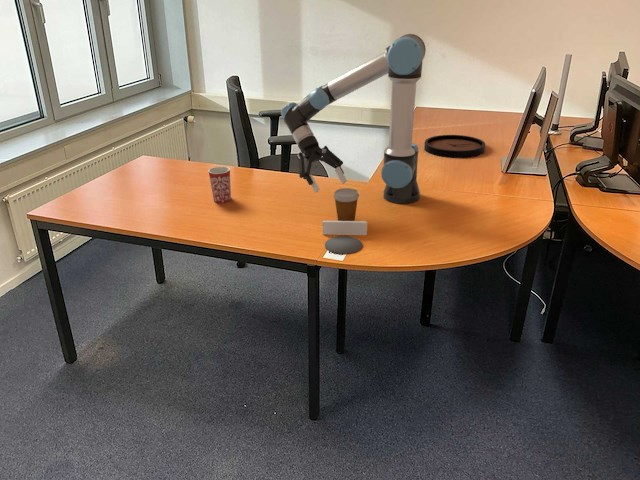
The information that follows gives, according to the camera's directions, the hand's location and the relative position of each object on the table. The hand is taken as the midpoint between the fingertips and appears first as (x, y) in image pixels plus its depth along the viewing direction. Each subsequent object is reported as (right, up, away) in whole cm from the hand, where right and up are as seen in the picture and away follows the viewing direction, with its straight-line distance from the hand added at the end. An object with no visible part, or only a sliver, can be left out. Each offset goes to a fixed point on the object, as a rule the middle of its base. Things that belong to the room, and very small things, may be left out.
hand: (331, 186), depth 201 cm
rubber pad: (+4, -22, -17) cm, 28 cm away
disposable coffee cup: (+6, -13, +1) cm, 15 cm away
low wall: (+5, -18, -9) cm, 21 cm away
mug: (-46, -3, +25) cm, 53 cm away
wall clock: (+67, +28, +81) cm, 109 cm away
